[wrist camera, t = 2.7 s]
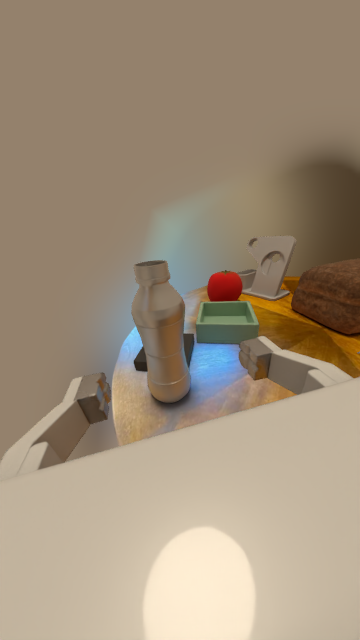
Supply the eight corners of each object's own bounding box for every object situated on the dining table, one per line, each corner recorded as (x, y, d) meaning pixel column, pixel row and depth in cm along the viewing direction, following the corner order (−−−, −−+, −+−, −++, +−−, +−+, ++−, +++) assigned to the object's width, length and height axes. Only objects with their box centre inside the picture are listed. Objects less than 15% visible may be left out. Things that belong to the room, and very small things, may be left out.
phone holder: (231, 290, 69) (233, 239, 60) (248, 284, 73) (252, 236, 65) (273, 301, 55) (283, 239, 47) (291, 293, 60) (303, 235, 52)
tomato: (200, 306, 58) (199, 273, 53) (218, 296, 64) (218, 266, 59) (229, 313, 51) (231, 276, 46) (246, 301, 57) (248, 267, 53)
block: (135, 370, 34) (131, 353, 32) (152, 340, 42) (149, 326, 40) (187, 373, 31) (185, 356, 30) (194, 341, 40) (193, 326, 38)
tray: (197, 342, 40) (195, 324, 37) (201, 317, 51) (200, 301, 48) (256, 344, 37) (259, 324, 35) (248, 317, 48) (249, 300, 46)
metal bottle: (155, 376, 32) (130, 261, 22) (192, 375, 31) (182, 256, 22) (146, 409, 26) (108, 272, 17) (192, 409, 25) (178, 266, 16)
